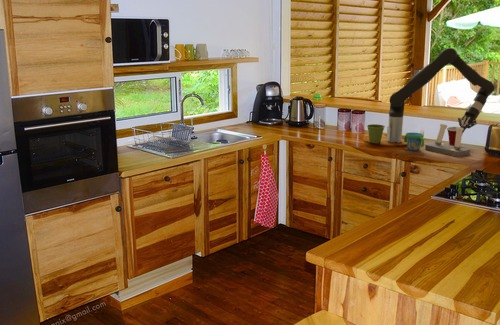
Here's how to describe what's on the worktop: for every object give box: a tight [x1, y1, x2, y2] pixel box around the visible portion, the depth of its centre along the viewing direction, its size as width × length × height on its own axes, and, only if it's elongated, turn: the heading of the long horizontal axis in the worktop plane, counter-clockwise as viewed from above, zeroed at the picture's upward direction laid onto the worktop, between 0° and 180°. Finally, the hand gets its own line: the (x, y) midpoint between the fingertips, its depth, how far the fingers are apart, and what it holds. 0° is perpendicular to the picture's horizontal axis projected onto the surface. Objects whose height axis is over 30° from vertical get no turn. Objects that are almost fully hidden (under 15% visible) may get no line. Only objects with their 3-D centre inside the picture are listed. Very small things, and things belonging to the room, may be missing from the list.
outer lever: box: [454, 126, 463, 149], centre depth 337 cm, size 2×4×13 cm, turn 34°
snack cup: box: [403, 132, 425, 152], centre depth 349 cm, size 16×10×10 cm
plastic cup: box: [446, 126, 464, 146], centre depth 358 cm, size 11×11×12 cm
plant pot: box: [366, 123, 386, 144], centre depth 370 cm, size 12×12×11 cm
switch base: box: [424, 142, 471, 158], centre depth 344 cm, size 12×24×3 cm, turn 34°
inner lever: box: [434, 123, 448, 145], centre depth 349 cm, size 2×4×13 cm, turn 35°
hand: (460, 132), depth 337 cm, fingers closed
